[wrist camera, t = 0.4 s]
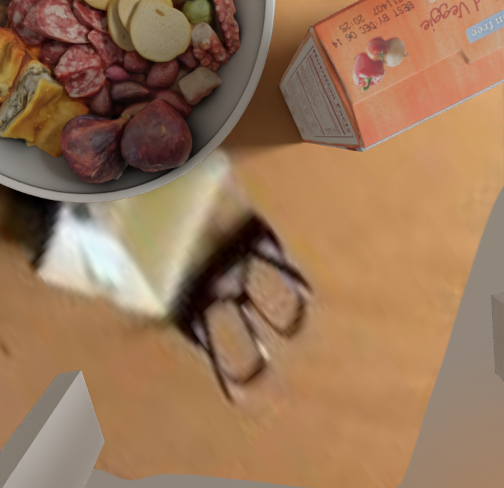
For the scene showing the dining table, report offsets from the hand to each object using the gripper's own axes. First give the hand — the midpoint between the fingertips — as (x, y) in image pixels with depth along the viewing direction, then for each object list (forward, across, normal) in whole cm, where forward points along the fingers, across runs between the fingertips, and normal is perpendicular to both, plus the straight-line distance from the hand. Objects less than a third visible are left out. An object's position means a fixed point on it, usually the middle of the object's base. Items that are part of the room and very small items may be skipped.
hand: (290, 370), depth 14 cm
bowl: (+28, -11, +19) cm, 35 cm away
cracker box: (+28, +11, +10) cm, 31 cm away
